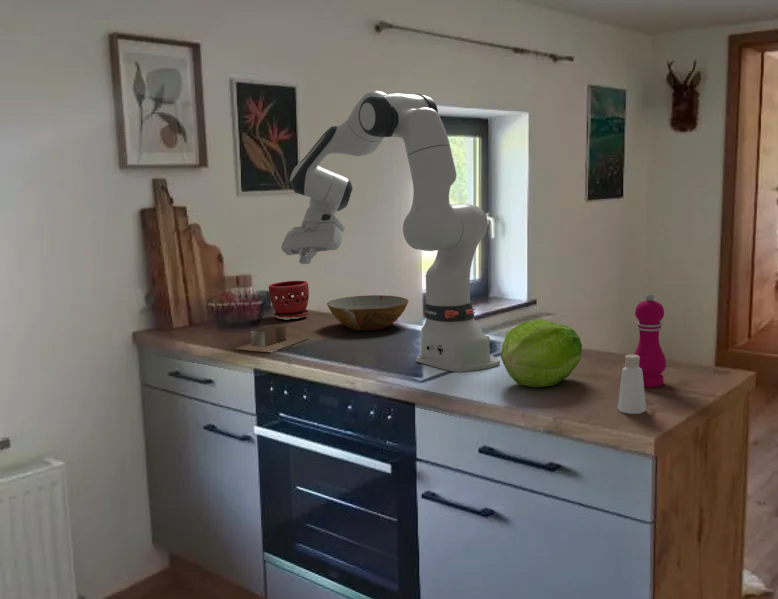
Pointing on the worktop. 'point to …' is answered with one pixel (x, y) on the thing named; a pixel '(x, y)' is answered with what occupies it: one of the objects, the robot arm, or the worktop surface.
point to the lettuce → (540, 353)
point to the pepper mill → (650, 341)
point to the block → (268, 335)
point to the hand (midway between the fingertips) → (304, 263)
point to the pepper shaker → (632, 387)
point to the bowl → (368, 311)
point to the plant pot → (289, 298)
